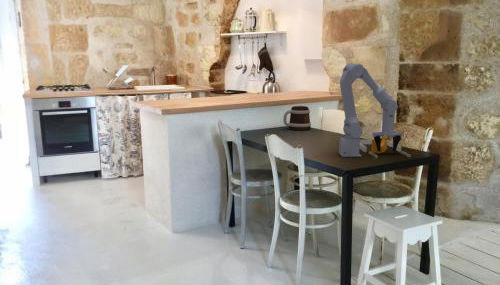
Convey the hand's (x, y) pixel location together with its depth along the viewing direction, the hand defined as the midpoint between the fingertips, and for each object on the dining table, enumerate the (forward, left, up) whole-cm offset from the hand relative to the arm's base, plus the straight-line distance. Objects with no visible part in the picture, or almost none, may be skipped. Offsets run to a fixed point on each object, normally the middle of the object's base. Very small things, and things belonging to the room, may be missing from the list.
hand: (386, 151), depth 214 cm
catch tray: (0, +14, -1) cm, 14 cm away
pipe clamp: (0, +7, -2) cm, 7 cm away
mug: (-32, +77, -2) cm, 83 cm away
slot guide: (0, -4, -1) cm, 4 cm away
